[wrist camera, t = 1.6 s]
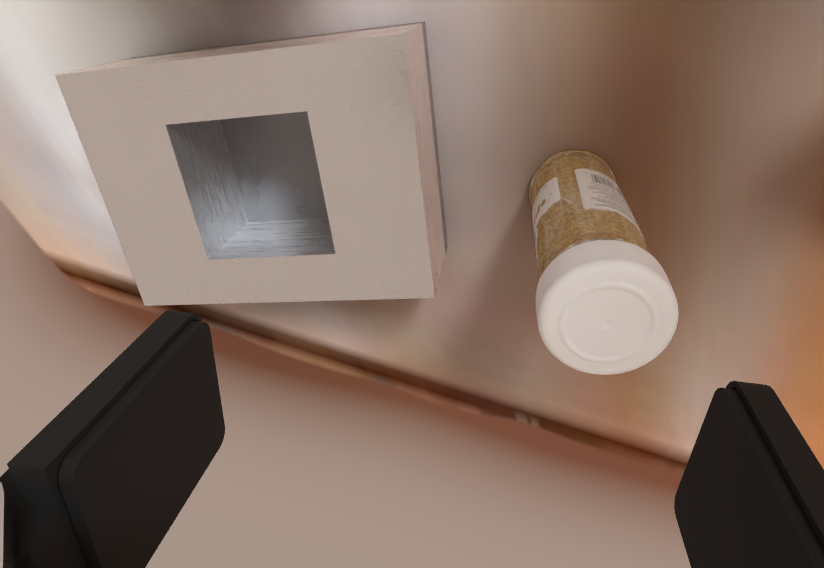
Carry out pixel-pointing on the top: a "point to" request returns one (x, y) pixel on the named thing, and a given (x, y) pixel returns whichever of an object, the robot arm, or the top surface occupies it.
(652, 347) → the sprinkles bottle
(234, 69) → the grey box with opening
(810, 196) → the top surface
